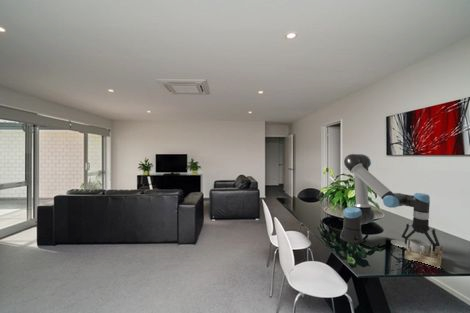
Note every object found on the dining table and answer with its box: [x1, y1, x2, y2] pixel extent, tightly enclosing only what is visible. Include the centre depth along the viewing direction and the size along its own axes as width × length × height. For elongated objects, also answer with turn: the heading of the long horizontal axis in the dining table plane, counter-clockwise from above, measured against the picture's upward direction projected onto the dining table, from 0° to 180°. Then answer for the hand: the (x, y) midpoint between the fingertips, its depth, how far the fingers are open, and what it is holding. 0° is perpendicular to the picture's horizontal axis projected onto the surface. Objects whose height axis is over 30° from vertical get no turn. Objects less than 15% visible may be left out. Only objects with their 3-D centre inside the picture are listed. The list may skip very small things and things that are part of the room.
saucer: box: [390, 239, 407, 249], centre depth 154 cm, size 12×12×2 cm
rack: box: [404, 245, 443, 269], centre depth 134 cm, size 16×19×8 cm
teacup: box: [408, 238, 432, 256], centre depth 135 cm, size 14×11×8 cm
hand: (419, 252), depth 135 cm, fingers closed on teacup, 11 cm apart
